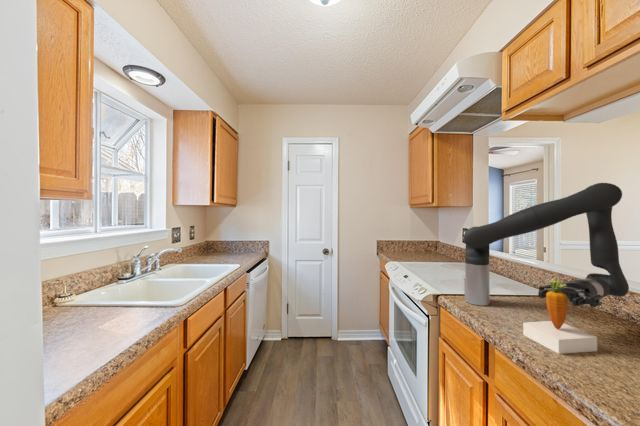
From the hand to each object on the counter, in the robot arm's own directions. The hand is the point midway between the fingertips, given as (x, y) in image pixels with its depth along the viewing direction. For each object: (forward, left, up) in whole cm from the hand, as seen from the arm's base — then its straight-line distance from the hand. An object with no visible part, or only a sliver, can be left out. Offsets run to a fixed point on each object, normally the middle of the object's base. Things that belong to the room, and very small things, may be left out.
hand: (556, 298), depth 83 cm
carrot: (0, 0, -10) cm, 10 cm away
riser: (0, 0, -13) cm, 14 cm away
